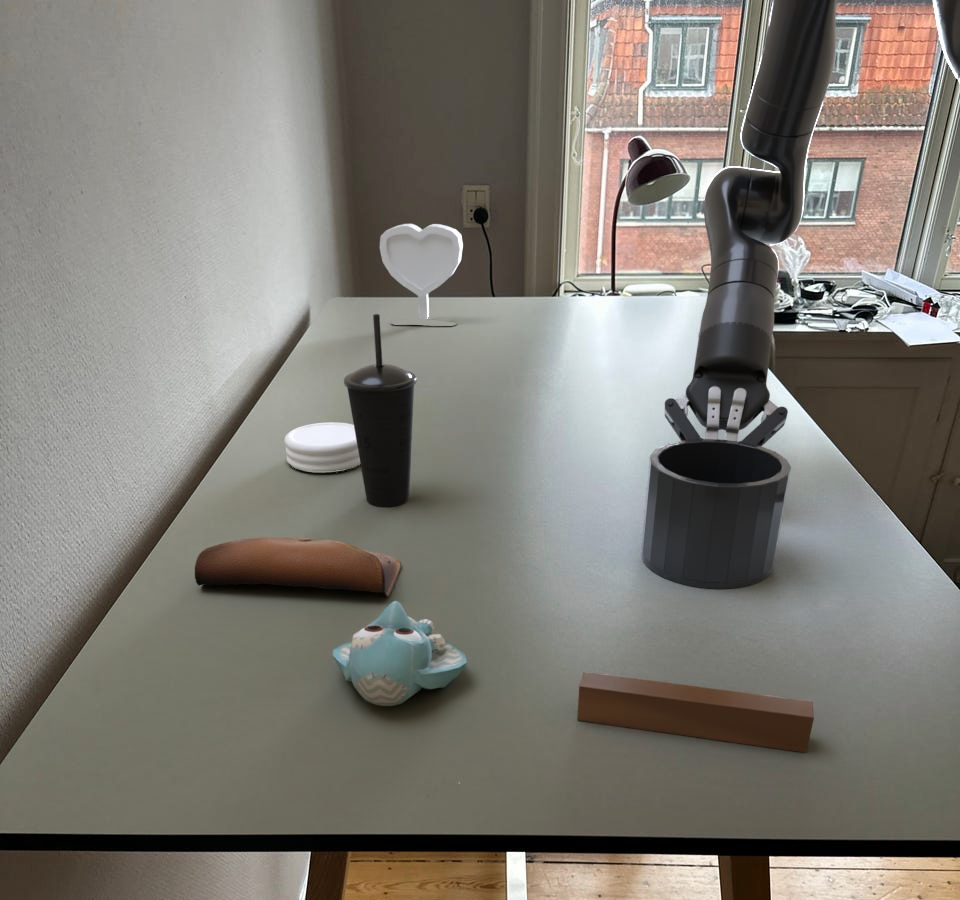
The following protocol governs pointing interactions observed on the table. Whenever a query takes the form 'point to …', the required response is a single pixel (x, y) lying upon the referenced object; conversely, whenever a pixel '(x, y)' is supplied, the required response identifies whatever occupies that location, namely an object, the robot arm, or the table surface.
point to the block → (696, 711)
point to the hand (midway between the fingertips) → (713, 491)
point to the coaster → (323, 447)
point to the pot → (714, 512)
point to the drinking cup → (383, 426)
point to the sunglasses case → (297, 564)
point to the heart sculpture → (421, 258)
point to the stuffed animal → (397, 658)
